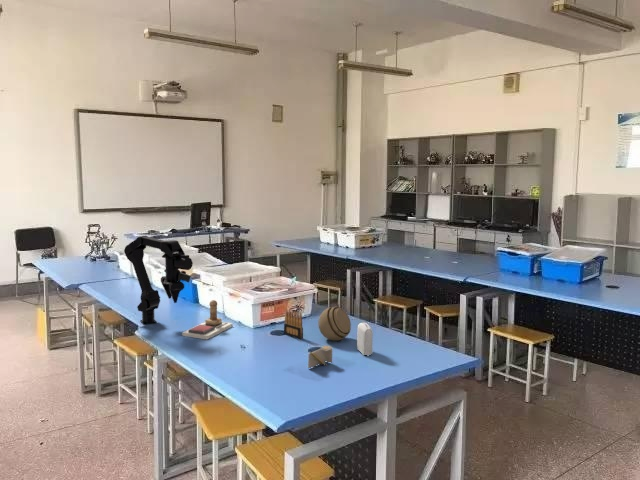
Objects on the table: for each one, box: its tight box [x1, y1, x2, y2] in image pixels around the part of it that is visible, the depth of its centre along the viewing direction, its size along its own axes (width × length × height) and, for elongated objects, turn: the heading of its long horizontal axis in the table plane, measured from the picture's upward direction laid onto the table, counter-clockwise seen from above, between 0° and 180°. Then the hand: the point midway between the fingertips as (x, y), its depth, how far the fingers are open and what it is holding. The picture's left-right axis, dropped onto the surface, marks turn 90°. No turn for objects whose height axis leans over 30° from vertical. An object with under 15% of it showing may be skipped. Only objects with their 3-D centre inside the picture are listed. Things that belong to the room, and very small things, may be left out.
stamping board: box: [181, 321, 234, 340], centre depth 254 cm, size 22×13×2 cm, turn 159°
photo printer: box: [356, 322, 374, 356], centre depth 228 cm, size 10×4×12 cm, turn 14°
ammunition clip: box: [283, 308, 304, 340], centre depth 248 cm, size 11×2×12 cm, turn 48°
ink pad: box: [188, 324, 215, 335], centre depth 249 cm, size 9×8×1 cm
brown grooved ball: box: [318, 306, 352, 342], centre depth 244 cm, size 15×15×15 cm
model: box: [307, 345, 333, 369], centre depth 211 cm, size 3×11×8 cm, turn 141°
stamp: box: [204, 299, 223, 327], centre depth 258 cm, size 6×6×12 cm
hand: (172, 300), depth 257 cm, fingers open, 9 cm apart
